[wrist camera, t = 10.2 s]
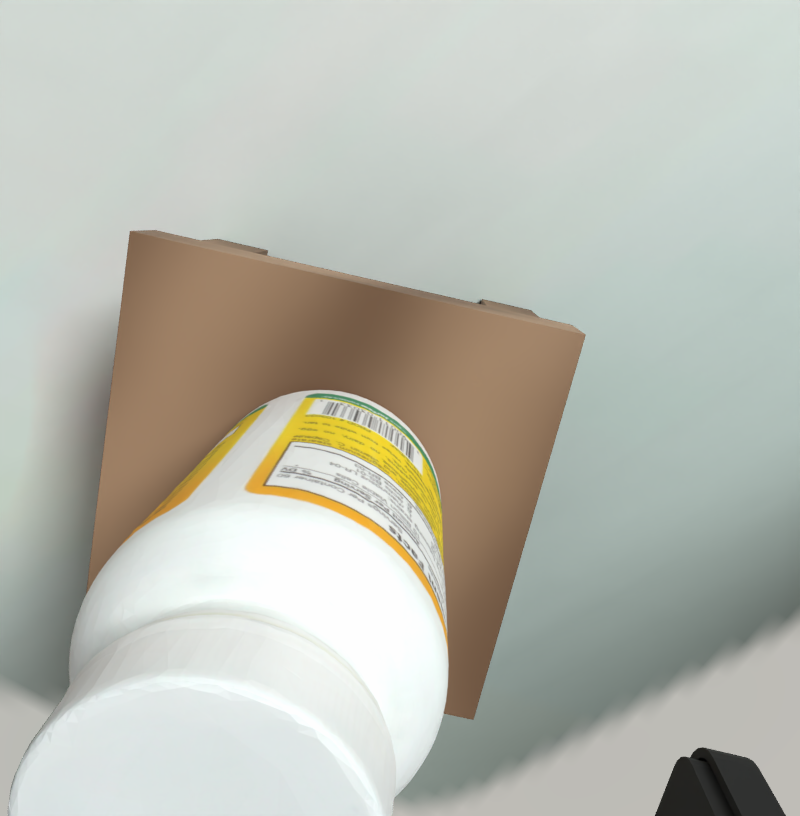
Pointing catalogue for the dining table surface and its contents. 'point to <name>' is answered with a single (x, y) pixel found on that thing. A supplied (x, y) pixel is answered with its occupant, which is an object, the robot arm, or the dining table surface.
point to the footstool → (347, 372)
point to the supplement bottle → (261, 632)
